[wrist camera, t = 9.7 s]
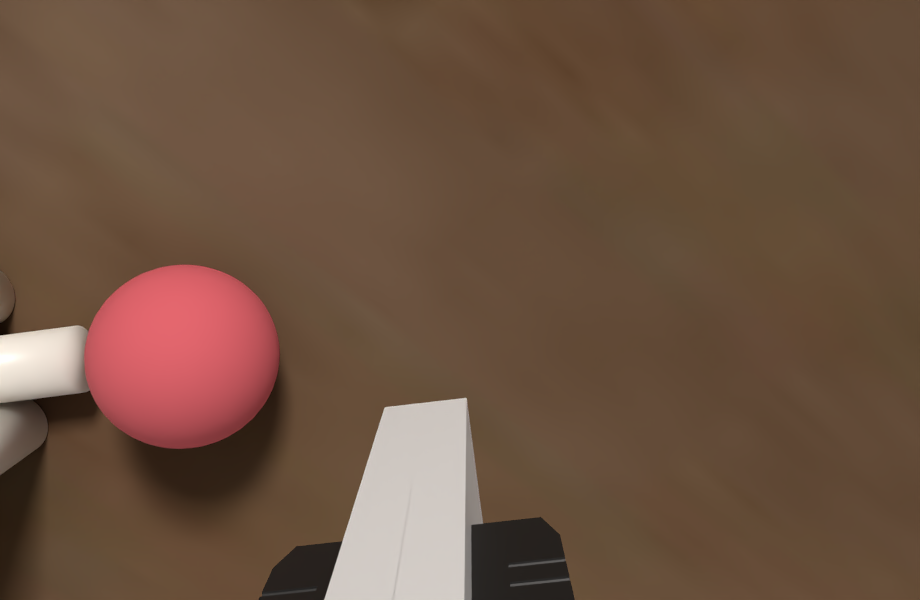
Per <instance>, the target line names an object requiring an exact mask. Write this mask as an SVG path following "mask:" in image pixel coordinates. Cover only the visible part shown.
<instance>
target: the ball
mask: <svg viewBox="0 0 920 600" xmlns="http://www.w3.org/2000/svg"><path fill="white" fill-rule="evenodd" d="M279 358H280V347H279V340H278V335H277V331H276V328H275V325H274V323H273V320H272V318H271V316H270V314H269V312H268V310H267V309H266V307H265V306H264V304H263V303H262V301H261V300H260V299H259V298H258V296H257V295H256V294H255V293H254V292H253V291H251V290H250V289H249V288H248V287H247V286H246V285H244V284H243V283H242V282H240V281H239V280H237V279H235V278H234V277H232V276H230V275H228V274H226V273H223V272H221V271H218V270H215V269H212V268H208V267H203V266H196V265H173V266H166V267H160V268H157V269H154V270H151V271H148V272H145V273H142V274H140V275H139V276H137V277H135V278H133V279H131V280H129V281H128V282H126V283H125V284H124V285H122V286H121V287H120V288H118V289H117V290H116V291H115V292H114V293H113V294H112V295H111V296H110V297H109V298H108V299H107V300H106V301H105V303H104V304H103V305H102V307H101V308H100V310H99V311H98V313H97V314H96V316H95V318H94V320H93V322H92V324H91V327H90V329H89V332H88V335H87V340H86V344H85V351H84V366H85V375H86V380H87V383H88V386H89V389H90V392H91V394H92V396H93V398H94V400H95V402H96V404H97V405H98V407H99V408H100V410H101V411H102V412H103V414H104V415H105V416H106V417H107V418H108V419H109V420H110V421H111V422H112V423H113V424H114V425H115V426H116V427H117V428H119V429H120V430H121V431H123V432H125V433H126V434H128V435H129V436H131V437H133V438H135V439H137V440H139V441H142V442H144V443H147V444H150V445H154V446H158V447H163V448H173V449H185V448H195V447H201V446H205V445H209V444H212V443H215V442H218V441H220V440H222V439H225V438H227V437H228V436H230V435H232V434H233V433H235V432H237V431H238V430H240V429H241V428H242V427H244V426H245V425H246V424H247V423H248V422H249V421H250V420H252V419H253V418H254V417H255V416H256V414H257V413H258V412H259V411H260V409H261V408H262V407H263V406H264V404H265V402H266V401H267V399H268V397H269V395H270V393H271V392H272V389H273V386H274V384H275V381H276V378H277V374H278V369H279Z"/></svg>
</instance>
